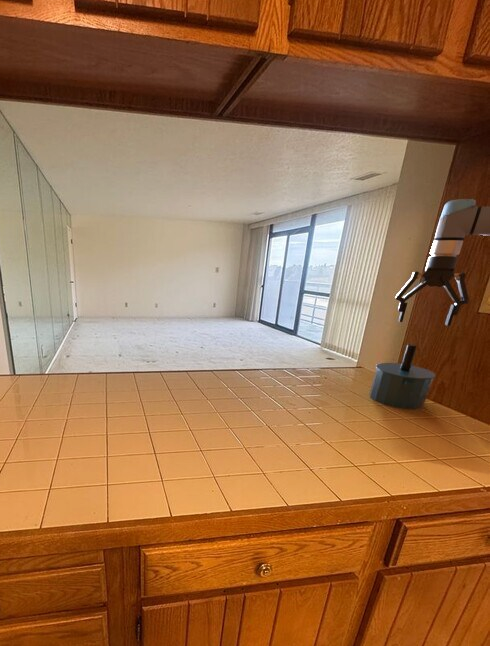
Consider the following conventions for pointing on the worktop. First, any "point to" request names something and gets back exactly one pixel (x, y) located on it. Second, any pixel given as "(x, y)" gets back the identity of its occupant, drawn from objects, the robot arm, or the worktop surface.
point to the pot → (399, 391)
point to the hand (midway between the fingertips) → (423, 323)
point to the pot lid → (406, 367)
